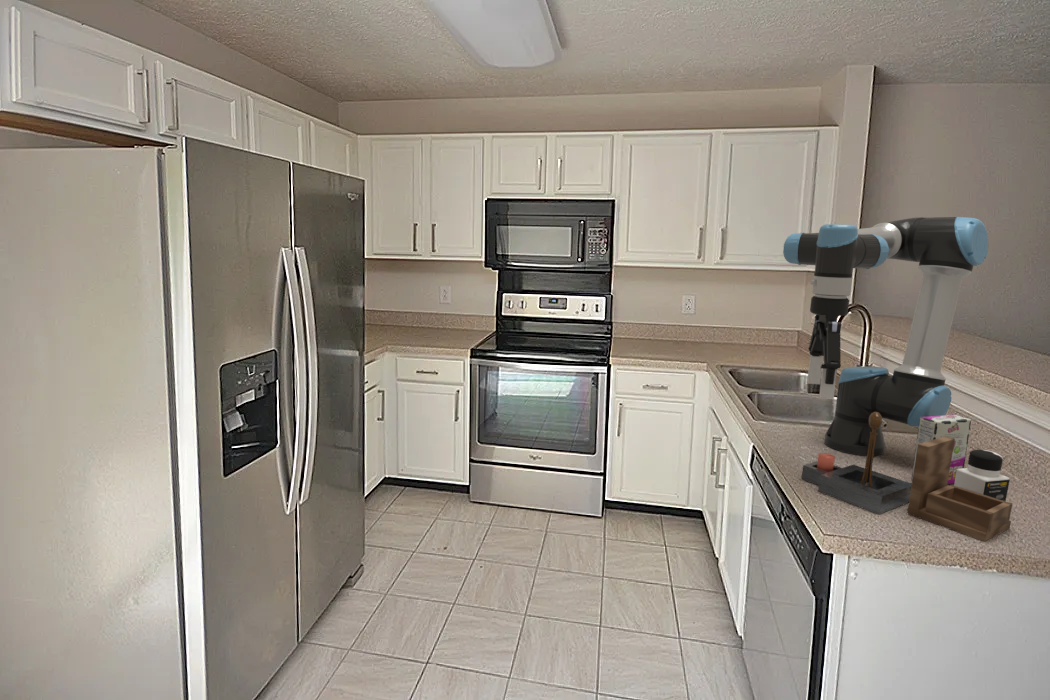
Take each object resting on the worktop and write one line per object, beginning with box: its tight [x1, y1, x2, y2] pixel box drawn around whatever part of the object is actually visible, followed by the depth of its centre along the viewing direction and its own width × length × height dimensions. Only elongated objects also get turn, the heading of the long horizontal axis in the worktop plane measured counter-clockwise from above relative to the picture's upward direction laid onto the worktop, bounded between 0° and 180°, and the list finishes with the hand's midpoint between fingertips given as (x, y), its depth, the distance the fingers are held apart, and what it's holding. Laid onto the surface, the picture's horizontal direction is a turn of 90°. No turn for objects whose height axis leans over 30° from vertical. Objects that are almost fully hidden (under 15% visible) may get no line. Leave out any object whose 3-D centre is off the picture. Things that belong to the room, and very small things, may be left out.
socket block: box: [801, 460, 912, 515], centre depth 146 cm, size 14×20×4 cm
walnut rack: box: [906, 436, 1013, 542], centre depth 131 cm, size 12×14×16 cm
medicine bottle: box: [954, 449, 1010, 502], centre depth 142 cm, size 7×7×12 cm
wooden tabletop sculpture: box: [859, 412, 883, 489], centre depth 142 cm, size 6×5×20 cm
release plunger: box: [817, 452, 836, 472], centre depth 151 cm, size 4×4×5 cm
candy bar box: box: [911, 414, 972, 486], centre depth 153 cm, size 11×5×16 cm, turn 107°
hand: (819, 390), depth 142 cm, fingers open, 13 cm apart
